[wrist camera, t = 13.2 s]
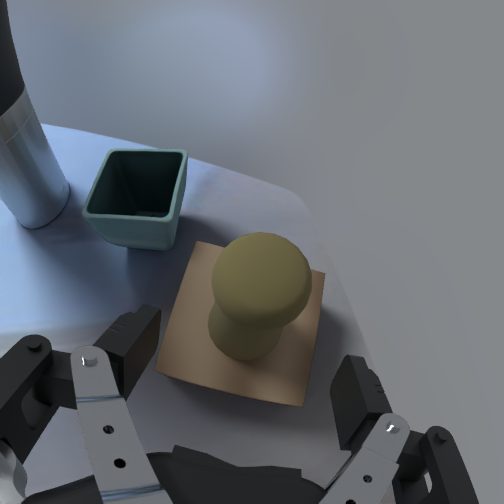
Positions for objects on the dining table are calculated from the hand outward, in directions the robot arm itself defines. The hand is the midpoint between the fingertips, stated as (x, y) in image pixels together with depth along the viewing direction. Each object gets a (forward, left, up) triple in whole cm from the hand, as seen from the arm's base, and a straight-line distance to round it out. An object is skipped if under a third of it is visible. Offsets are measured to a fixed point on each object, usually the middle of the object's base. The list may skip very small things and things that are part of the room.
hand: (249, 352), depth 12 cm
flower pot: (-13, +13, -17) cm, 26 cm away
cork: (0, +4, -11) cm, 12 cm away
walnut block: (0, +4, -17) cm, 18 cm away
